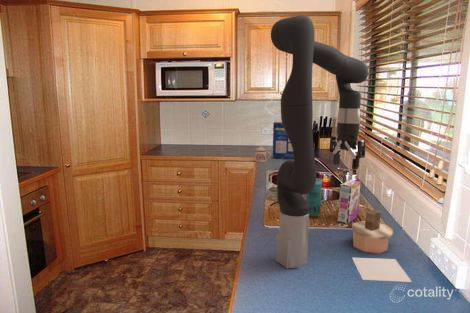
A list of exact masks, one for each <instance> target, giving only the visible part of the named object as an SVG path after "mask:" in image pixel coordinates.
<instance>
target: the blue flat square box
mask: <svg viewBox="0 0 470 313" xmlns="http://www.w3.org/2000/svg"><path fill="white" fill-rule="evenodd" d="M272 160H294V154H293V148H292V145H291V143H290V140H289V138H288V136H287V134H286V132H285V129H284V127H283V124H282V121H281V122H280V121H274V122H273V128H272Z"/></svg>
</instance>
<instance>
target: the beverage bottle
mask: <svg viewBox="0 0 470 313" xmlns="http://www.w3.org/2000/svg"><path fill="white" fill-rule="evenodd" d="M320 178H321V174H320V172H318V171H316V183H315V186H314V188H313V190H312V191H311V192H310V193H308V194H305V195H306V197H305V200H306V201H307V202H308V204H309V217H310V216H311V217H317V216H319V215H320V214H321V208H322V207H321V205H322V185H323V183H322V181H321V180H320Z"/></svg>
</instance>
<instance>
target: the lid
mask: <svg viewBox="0 0 470 313" xmlns="http://www.w3.org/2000/svg"><path fill="white" fill-rule="evenodd" d="M381 214H382V212H381V211H378V210H376V209H372V210H368V211H365V220H362V221H361V220H360V221H356V222H353V223H352V225H351V230H352V232H353V233H354V232H355V233H356V234H358V235H361V236H363V237H367V238H373V239H385V238H389V239H390V238H391V237H392V236H393V235H394V230H393V229H392V228H391V227H390V226H389V225H387V224H383V223H381V217H382V216H381Z"/></svg>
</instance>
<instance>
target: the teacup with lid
mask: <svg viewBox="0 0 470 313" xmlns="http://www.w3.org/2000/svg"><path fill="white" fill-rule="evenodd" d="M267 154H269V156H267ZM271 155H272V154H271V152H270V151H268V150H267V149H266V148H265V147H263V146H262V145H259V146H258V147H257V148H255V149H254V161H255V163H265V162H267V159H270V158H271Z"/></svg>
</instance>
